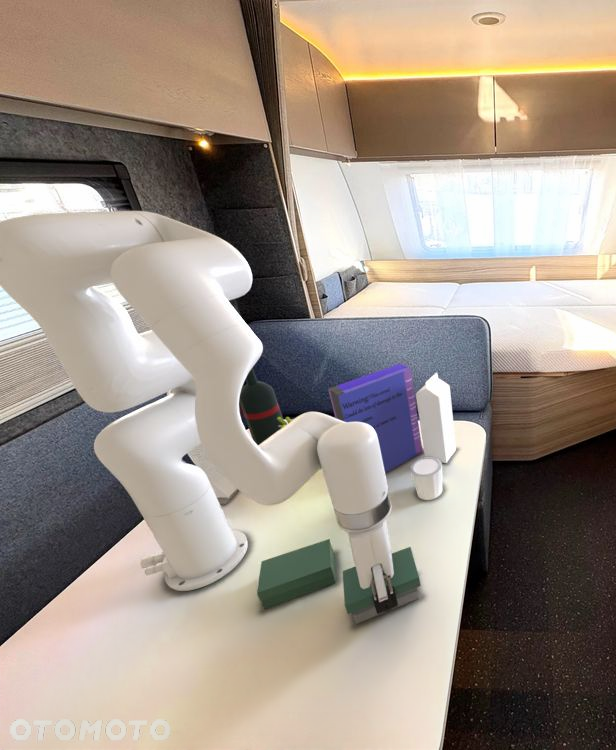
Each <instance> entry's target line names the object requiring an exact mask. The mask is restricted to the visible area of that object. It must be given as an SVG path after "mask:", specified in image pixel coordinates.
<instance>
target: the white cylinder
mask: <svg viewBox="0 0 616 750" xmlns="http://www.w3.org/2000/svg"><path fill="white" fill-rule="evenodd" d="M409 470H410V473H411V477H412V481H413V483H414V487H415V490H416V494H417V496H418V498H420V499H421V500H424V501H430V500H431V501H432V500H435V499H436V498H438V497H440V496H441V494H442V493H443V463H442V462H441V461H440V460H439V459H437V458H434V457H425V456H424V457H421V458H419V459H416V460H415V461H414V462H413V463H412V464H411V466H410V468H409Z"/></svg>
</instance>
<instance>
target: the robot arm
mask: <svg viewBox="0 0 616 750" xmlns="http://www.w3.org/2000/svg"><path fill="white" fill-rule="evenodd" d="M109 284H113V285H114V287H115V290H117V292H118V293H119V294H120V295H121V297H123V299H124V300H125V301H126V302H127V303H128V305H129V306H130V307H131V308H132V309H133V311H135V313H136V314H137V315H138V317H140V318H141V320H142V321H143V322H144V323H145V324H146V326H147V327H148V328H149V330H147V331H144V332H141V333H139V332H138V331H137V329H136V327H135V325H134V322H133V320H132V318H131V316H130V314H129V312H128V310H127V309H126V308H125V307H124V306H123V305H122V304H121V302H119V300H117V299H115V298H113V297H112V296H110V295H109V294H108V293H106V292H105V291H103V290H101V289H100V288H97V287H99V286H104V285H109ZM252 284H253V273H252V270H251V267H250V265H249V263H248V261H247V260H246V258H245V257H244V256H243V254H242V253H241V252H240V251H239V250H238V249H237V248H236V247H234V246H233V245H232V244H231V243H230V242H228V241H226V240H224V239H222V238H221V237H219V236H218V235H215V234H212V233H211V232H208V231H205V230H202V229H200V228H197V227H194V226H192V225H190V224H186V223H184V222H181V221H179V220H176V219H173V218H171V217H168V216H166V215H163V214H160V213H157V212H152V211H145V210H116V211H111V210H110V211H79V212H58V213H56V212H55V213H44V214H43V213H41V214H32V215H24V216H17V217H12V218H8V219H5V220H1V221H0V288H2V289H3V290H4V292H6V294H7V295H8V296H10V298H11V299H13V301H14V302H16V303H17V304H18V305H19V306H20V307H21V308H22V309H23V310H24V311H25V312H27V314H28V315H30V317H31V318H32V319H33V320H34V321H35V323H37V324H38V326H39V328H40V329H41V330H42V332H43V334H44V336H45V337H46V339H47V341H48V343H49V345H50V346H51V348H52V350H53V352H54V354H55V356H56V357H57V359H58V361H59V363H60V364H61V366H62V368H63V369H64V371H65V373H66V375H67V377H68V378H69V380H70V382H71V383H72V385H73V386H74V389H75V390H76V392H77V394H78V395H79V396H80V397H81V399H82V400H83V401H84V403H86V404H87V405H88V406H89V407H90V408H92V409H93V410H95V411H98V412H101V413H118V412H123V411H125V410H129V409H131V408H135V407H136V406H137V407H138V406H139V405H141V404H144V403H146V402H149V401H151V400H153V399H155V398H157V397H159V396H162V395H164V394H167V392H168V391H170V390H171V393H172V394H171V395H169V396H167V395H166V396H165V397H163V398H160V399H158V400H156V401H153V402H151V403H149V404H146V405H144V406H143V407H139V409H136V410H134V411H132V412H130V413H127V414H126V415H124V416H122V417H120V418H118V419H116V420H114V421H112V422H110V424H108V425H107V426H105V427H104V428H103V429H102V430H101V431H100V432H99V433H98V434H97V435H96V437H95V438H94V439H95V440H94V442H93V452H94V454H95V455H96V457H97V459H98V460H99V462H100V463H101V464H102V465H103V466H104V467H105V468H106V470H108V471H109V472H110V473H111V474H112V475H113V476H114V477H115V479H117V481H118V482H120V484H121V485H122V486H123V487H124V489H125V491H126V492H127V493H128V495H129V496H130V498H131V499H132V502H134V504H135V506H136V508H137V510H138V511H139V513H140V514H141V516H142V517H143V519H144V521H145V523H146V524H147V526H148V529H149V530H150V532H151V534H152V535H153V537H154V539H155V540H156V542H157V544H158V546H159V547H160V549H161V550H162V552H158V553H153V554H150V555H146V556H143V557H142V558H141V559H140V566H141V568H142V569H144V574H145V576H146V577H147V576H151V575H154V574H157V573H160V572H163V573H164V575H163V576H164V581H165V583H166V585H167V586H168V587H169V588H170V589H172V590H174V591H179V592H187V591H194V590H199V589H201V588H204V587H206V586H209V585H211V584H213V583H215V582H217V581H218V580H220V579H222V578H223V577H224V576H226V575H228V574H229V573H230V572H231V571H232V570H234V569H235V568H236V567H237V566H238V565H239V563H240V562H241V561H242V559H243V558H244V557H245V555H246V553H247V551H248V548H249V541H248V539H247V536H246V535H245V534H244V533H243V532H242V531H240V530H238V529H232V528H231V526H230V524H229V521H228V520H227V517H226V515H225V513H224V510H223V508H222V505H220V504H219V502H218V499H217V497H216V495H215V493H214V491H213V488H212V486H211V484H210V482H209V480H208V477H207V475H206V474H205V472H204V471H203V470H202V469H200V468H199V467H197V466H196V465H195V464H190V463H187V462H185V463H183V462H182V461H181V459H182V460H183V458H184V457H185V456H186V455H188V454H187V453H188V452H190V451H191V450H192V449H194V448H196V447H197V446H199V445H200V444H202V446H203V448H204V450H205V452H206V454H207V455H208V457H209V458H210V460H211V461H212V462H213V463H214V464H215V466H216V467H217V468H218V469H219V470H220V471H221V472H222V473H223V474H224V475H225V476H226V477H227V479H228V480H229V481H230V482H231V483H232V484H233V485H234V486H235V487H236V488H237V489H238V492H241V493H242V494H243V495H244V496H245V497H246V498H248V499H249V500H251V501H253V502H255V503H256V504H260V505H263V506H275V505H276V506H277V505H279V504H282V503H284V502H286V501H287V500H289V499H291V498H292V497H293V496H294V495H295V494H296V493H298V491H299V490H300V489H301V488H302V487H303V486H305V485H306V484H307V482H309V481H310V480H311V478H312V477H314V476H315V474H316V473H318V472H319V471H320V470H321V471H322V473H323V477H324V481H325V484H326V487H327V491H328V494H329V498H330V501H331V505H332V508H333V511H334V515H335V518H336V522H337V525H338V527H339V528H340V529H341V530H342V531H344V532H347V535H348V540H349V546H350V550H351V553H352V557H353V561H354V565H355V566H356V570H357V574H358V578H359V583H360V587H361V588H362V589H365V588H368V587H370V584H371V587H372V591H373V594H372V597H373V601H374V605H375V609H376V612H377V614H380V613H382V612H385V613H387V612H389V611H391V610H390V609H392V608H394V607H396V606H398V602H397V598H396V594H395V589H394V586H392V584H391V580H390V578H392V577H393V575H394V571H393V562H392V553H393V552H392V547H391V541H390V540H391V539H390V535H389V534H390V533H389V530H388V524H387V523H388V522H387V520H388V518H389V517H390V514H391V512H392V510H393V504H392V501H391V496H390V490H389V486H388V480H387V475H386V473H385V470H384V465H383V460H382V455H381V450H380V446H379V441H378V437H377V434H376V432H375V430H374V429H373V428H372V427H371V426H370V425H368V424H366V423H362V422H344V421H341V420H339V419H336V418H335V416H334V417H333V416H331V415H329V414H325V413H322V412H319V411H307V412H304V413H302V414H300V415H298V416H296V417H294V418H293V419H294V420H292V419H291V420H292V421H291V422H290V423H288V422H287V425H286V426H284V427H283V428H281V429H280V430H279V431H277V432H276V433H274V434H273V435H272V436H270V437H269V438H268V439H266V440H265V441H264V442H262V443H261V444H260V445H257V444H256V443H255V442H254V441H253V439H252V436H251V435H250V434H249V433H248V431H247V429H246V427H245V425H244V423H243V421H242V417H241V411H240V408H239V398H240V393H241V389H242V388H243V387H244V384H245V382H246V380H245V379H246V377H247V375H248V373H249V371H250V370H251V369H252V367H253V368H254V366H255V365H256V363H258V361H259V360H260V358H261V357H262V354H263V351H264V346H263V343H262V341H261V340H260V338H258V336H257V335H256V333H254V331H253V330H252V329H251V327H250V325H248V324H247V323H246V322H245V320H244V319H243V318H242V316H241V315H240V314H239V312H238V311H237V310H236V308H235V307H234V306H233V305H232V303H231V302H230V301H232V300H235V299H238V298H241V297H243V296H245V295H246V294H247V293H248V292H250V291H251V288H252ZM355 566H354V567H355ZM382 570H383V571H384V572H382ZM373 574H374V576H373ZM385 579H387V584H388V586H385V581H384V580H385ZM375 584H376V586H375ZM376 589H377V590H376ZM394 609H395V608H394ZM392 610H393V609H392ZM386 611H387V612H386ZM382 614H383V613H382ZM380 615H381V614H380Z"/></svg>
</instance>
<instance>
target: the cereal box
mask: <svg viewBox="0 0 616 750" xmlns="http://www.w3.org/2000/svg"><path fill="white" fill-rule="evenodd" d="M411 371H412V369H411V368H410V367H408V366H406V365H404V364H401V363H397V364H393V365H391V366H389V367H385V368H383V369H380V370H377V371H374V372H372V373H369V374H366V375H363V376H360V377H357V378H355V379H352V380H349V381H346V382H343V383H341V384H338V385H335V386H332V387H329V388H328V389H327V390H328V394H329V399H330V402H331V406H332V410H333V414H334V418H336V419H339V420H341V421H344V422H362V423H366V424H368V425H370V426H371V427H372V428H373V429H374V430H375V432H376V434H377V437H378V441H379V446H380V450H381V455H382V460H383V465H384V470H385V474H386V473H389V472H390V471H392V470H393V469H395V468H397V467H399V466H401V465H402V464H405V463H406V462H408V461H410V460H412V459H414V458H415V457H417V456H419V455H420V454H422V453H424V450H423V443H422V436H421V429H420V423H419V416H418V409H417V402H416V396H415V390H414V385H413V377H412V372H411Z"/></svg>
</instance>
